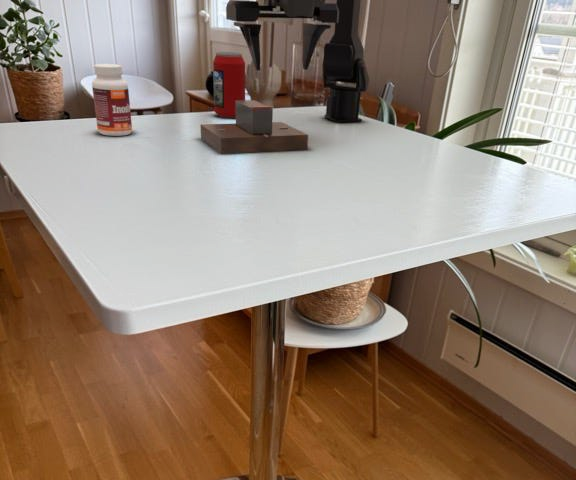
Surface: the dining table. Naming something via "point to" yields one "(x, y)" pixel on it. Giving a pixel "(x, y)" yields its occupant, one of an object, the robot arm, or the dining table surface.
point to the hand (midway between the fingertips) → (281, 69)
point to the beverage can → (228, 82)
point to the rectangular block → (254, 116)
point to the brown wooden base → (253, 138)
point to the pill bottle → (111, 100)
